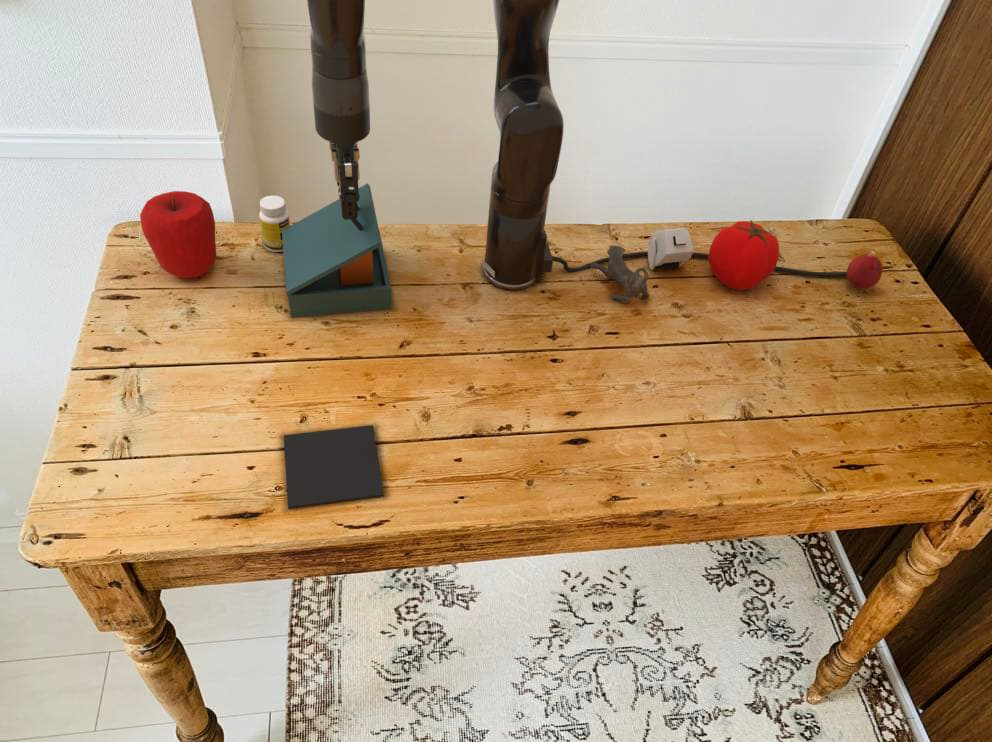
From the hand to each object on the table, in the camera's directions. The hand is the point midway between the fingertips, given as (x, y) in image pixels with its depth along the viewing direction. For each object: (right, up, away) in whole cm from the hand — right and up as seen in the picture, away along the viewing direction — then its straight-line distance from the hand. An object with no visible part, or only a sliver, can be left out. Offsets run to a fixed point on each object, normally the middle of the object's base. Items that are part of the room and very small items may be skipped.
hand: (347, 201), depth 122 cm
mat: (+1, -39, -14) cm, 41 cm away
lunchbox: (-4, -11, +11) cm, 15 cm away
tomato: (+64, -8, +23) cm, 69 cm away
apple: (-27, -9, +9) cm, 30 cm away
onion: (+87, -10, +25) cm, 91 cm away
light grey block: (+52, -6, +23) cm, 57 cm away
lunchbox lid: (-3, -5, +4) cm, 7 cm away
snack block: (-1, -10, +11) cm, 15 cm away
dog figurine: (+43, -11, +17) cm, 48 cm away
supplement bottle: (-15, -4, +16) cm, 22 cm away
